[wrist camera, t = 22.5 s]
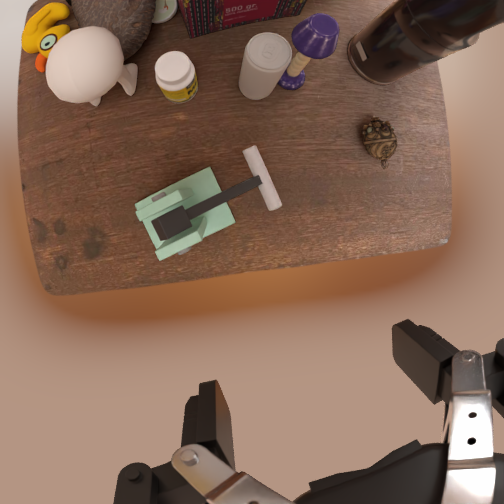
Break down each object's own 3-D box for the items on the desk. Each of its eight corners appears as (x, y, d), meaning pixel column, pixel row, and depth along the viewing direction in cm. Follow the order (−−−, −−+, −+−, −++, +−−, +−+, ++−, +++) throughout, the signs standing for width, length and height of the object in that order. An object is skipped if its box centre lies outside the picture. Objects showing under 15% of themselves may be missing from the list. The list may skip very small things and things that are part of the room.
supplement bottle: (195, 104, 37) (190, 85, 28) (161, 103, 36) (147, 84, 28) (200, 73, 36) (196, 48, 28) (166, 72, 35) (155, 47, 27)
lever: (248, 149, 34) (260, 143, 32) (274, 206, 36) (287, 203, 34) (138, 196, 27) (144, 191, 25) (172, 265, 29) (181, 265, 27)
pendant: (380, 117, 39) (397, 111, 35) (391, 166, 41) (409, 166, 36) (351, 120, 39) (367, 114, 34) (363, 171, 41) (379, 171, 36)
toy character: (141, 53, 34) (109, 1, 19) (146, 109, 36) (110, 73, 21) (83, 72, 33) (33, 33, 19) (87, 127, 35) (30, 105, 21)
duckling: (19, 61, 31) (55, 77, 34) (2, 56, 26) (39, 73, 29) (54, 4, 28) (94, 17, 31) (40, -6, 23) (81, 6, 26)
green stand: (210, 166, 39) (205, 157, 25) (235, 221, 41) (243, 239, 27) (136, 203, 39) (98, 213, 25) (162, 256, 41) (137, 289, 27)
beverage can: (277, 76, 37) (299, 41, 25) (266, 106, 38) (285, 77, 26) (244, 65, 36) (254, 25, 24) (232, 94, 37) (238, 61, 25)
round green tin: (89, 2, 29) (179, -9, 30) (92, 3, 30) (180, -7, 30) (84, 30, 32) (173, 21, 32) (87, 31, 32) (175, 22, 33)
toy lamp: (295, 98, 38) (339, 53, 22) (265, 83, 37) (292, 27, 21) (309, 72, 37) (356, 20, 21) (279, 57, 36) (312, -4, 20)
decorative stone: (186, 11, 28) (159, 11, 24) (127, 73, 37) (102, 81, 33) (125, -62, 21) (98, -64, 17) (79, -1, 30) (55, 3, 26)
